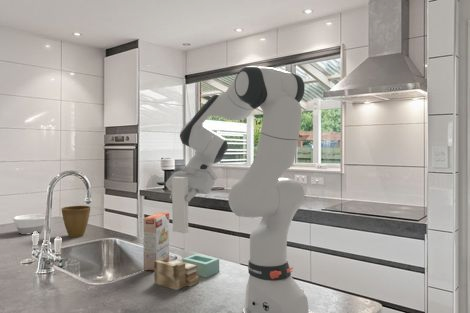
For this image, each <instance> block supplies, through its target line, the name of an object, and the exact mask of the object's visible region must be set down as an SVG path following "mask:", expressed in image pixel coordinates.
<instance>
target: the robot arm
mask: <svg viewBox="0 0 470 313" xmlns="http://www.w3.org/2000/svg"><path fill="white" fill-rule="evenodd" d="M304 94H305V83H304V80H303V78H302V77H301V76H300V75H298V74H296V73H295V72H292V71H286V70H282V69H277V68H275V67H268V66H256V65H250V66H245V67H242V68H241V69H239V70H238V73H237V75H236V77H235V78H234V79H233V80H232V82H231V83H230V84H229V86H228V88H227V90H225V92H223V93H220V94H219V93H215V94H214V95H212V96H211V97H209V99H208V100H207V101H206V102H205V103H204V104H203V105H202V107H201V108H200V109H199V110H198V111H197V113H195V115H194V116H193V117H192V118H191V120H189V121H188V122H186V124H184V125H183V127H182V128H181V130H180V133H179V137H180V141H181V143H182V145H185V146H186V147H189V148H191V149H192V150H194V151H195V152H194V156H192V157H191V158H190V160H189V161H188V162H187V164H186V166H185V168H184V170H182V169H180V170H178V171H174V172H173V173H172V175H170V176H169V177H168V179H167V180H166V181H165V187H166V188H167V190H168V191H170V192H171V193H170V195H169V199H170V200H171V201H172V177H186V178H188V195H186V196H185V198H184V200H185V201H188V203H189V202H190V201H191V200H192V199H193V198H194V197H196V196H197V195H198V194H201V195H207V194H209V193H210V192H211V190H212V189H213V187H214V185H215V181H217V179H218V176H217V175H216V172H215V171H214V169H213V168H212V166H214V165H215V164H217V163H220V162H221V161H222V159H223V157H224V155H225V154H226V152H227V151H228V150H229V149H228V148H229V147H228V141H227V139H226V138H224V137H223V136H222V135H220V134H218V133H217V132H215V131H213V130H211V129H210V128H209V127H207V126H205V125H204V124H203V123H204V122H206V120H207V119H208V118H209V117H212V116H213V117H214V116H215V117H220V118H224V119H226V120H230V121H241V120H244V119H247V118H248V117H249V116H250V115H251V114H252V113H253V112H254V110H256V109H259V108H260V109H261V110H262V114H263V115H262V116H263V118H262V122H261V128H260V133H259V139H258V143H257V148H256V152H255V156H254V159H253V160H252V163H251V165H250V166H249V168H248V170H247V171H246V173H245V174H244V175H243V177H241V178H240V180H239V181H238V182H236V183H235V184H234V185H232V186H231V188H230V190H229V193H228V205H229V207H230V210H231V211H232V213H234V214H235V216H237V217H241V218H249V219H250V218H251V219H254V218H259V217H262V218H261V220H260V222H259V223H258V225H257V226H256V227H255V228H254V229H253V230H252V232H251V233H250V235H249V260H248V264H247V267H248V268H247V269H248V274H249V276H248V277H249V278H248V281H247V284H246V290H245V298H244V299H245V301H244V307H243V309H242V311H241V313H315V312H314V311H312V309H310V308H309V300H308V297H307V295H306V293H305V291H304V289H303V288H301V286H299V285H298V283H297V282H296V281H295V279H294V278H293V277H292V272H293V269H294V267H290V265H289V262H288V260H287V252H288V251H287V249H288V248H287V247H288V246H287V245H288V244H287V243H288V234H289V229H290V226H291V223H292V221H293V219H294V216H295V214H296V213H297V211H299V209H300V208H301V207H302V206H303V204H304V202H305V194H306V193H305V189H304V187H303V185H302V184H301V182H299V180H297V179H294V178H293V179H292V178H289V177H282V176H283V174H284V173H285V172H286V171H287V170H289V169H290V168H291V167H292V166H293V164H294V162H295V158H296V152H297V147H298V144H299V143H298V142H299V139H300V133H301V124H302V123H301V122H302V106H301V103H300V102H301V101H302V99H303V97H304V96H305V95H304Z"/></svg>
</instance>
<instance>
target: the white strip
mask: <svg viewBox="0 0 470 313" xmlns="http://www.w3.org/2000/svg"><path fill="white" fill-rule="evenodd" d="M188 194H189V192H188V178H186V177H172V200H171V202H172V203H171V205H172V208H171V209H172V232H176V233H181V234H186V233H189V202H188V201H185V200H184V198H185V196H186V195H188Z"/></svg>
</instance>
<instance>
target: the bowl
mask: <svg viewBox="0 0 470 313" xmlns="http://www.w3.org/2000/svg"><path fill="white" fill-rule="evenodd" d="M45 214H46V213H30V214H22V215H16V216H14V217H13V220H12V221H13V222H14V224H15V227H16V229H17V231H18V234H19V233H21V234H27V233H33V232H34V231H37V232H42V231H44V230H45V227H44V224H45ZM45 225H46V224H45ZM42 233H43V232H42ZM21 234H20V235H21Z"/></svg>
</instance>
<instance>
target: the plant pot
mask: <svg viewBox="0 0 470 313" xmlns="http://www.w3.org/2000/svg"><path fill="white" fill-rule="evenodd" d="M61 214H62V219H63V220H62V221H63V224H64V226H65V230H66V233H67V236H68V237H69V238H81V237H83V236H84V235H85V233H86V232H85V231H86V229H87V227H88V222H89V218H90V214H91V206H90V205H71V206H70V205H69V206H64V207H61Z"/></svg>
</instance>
